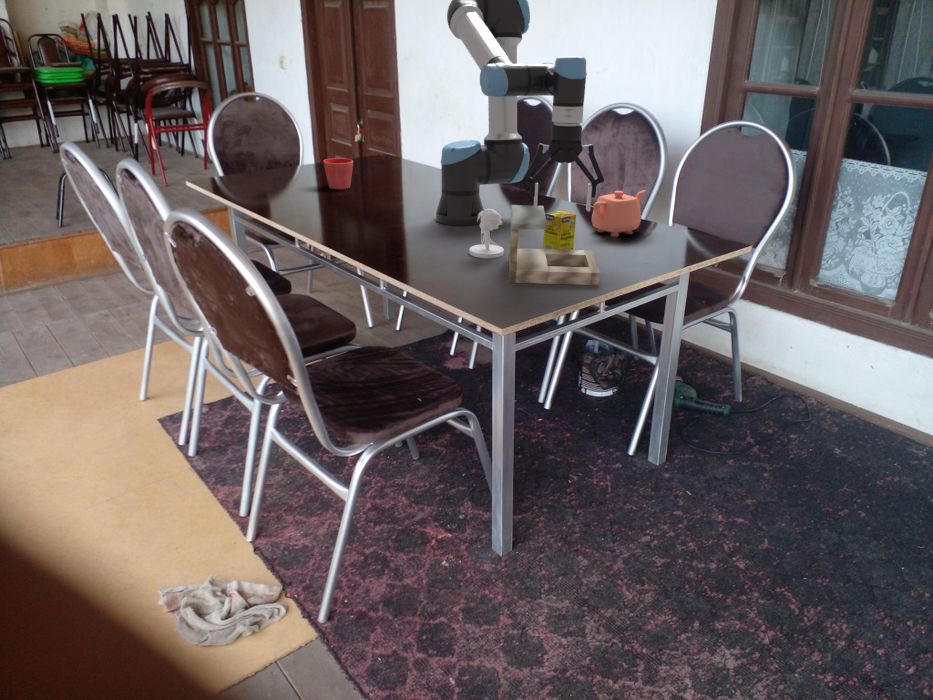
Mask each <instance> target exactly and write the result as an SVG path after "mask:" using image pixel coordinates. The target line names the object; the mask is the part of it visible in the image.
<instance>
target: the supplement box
mask: <svg viewBox="0 0 933 700" xmlns="http://www.w3.org/2000/svg"><path fill="white" fill-rule="evenodd" d="M545 216H546V221H547V230H543V240H542V241H543V243H542V244H543V245H542V249H557V250H574V245H575V235H576V234H575V233H576V232H575V231H576V224H577V223H576V221H577V214H576V213H572V212H569V211H566V210H565V211H564V210H562V209H561V210H557V211H552V212H545Z"/></svg>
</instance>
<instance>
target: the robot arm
mask: <svg viewBox="0 0 933 700" xmlns="http://www.w3.org/2000/svg"><path fill="white" fill-rule="evenodd" d="M530 10H531V9H530V5H529V1H528V0H451V2H450V3H449V5H448V8H447V11H446V12H447V13H446V21H447V25H448V28H449V30H450V31H451V33H452V35H453V36H454V37H455V38H456V39H458V40H460V41H462V43H463V45H464V46H465V48H466V50H467V51H468V53H469V54H470V55H471V57H472V59H473V61H474V62H475V63H476V65H477V67H478V68H479V70H480V73H479V85H480V90H481V93H482V94H483V95H484V96H486V97H488V100H487V101H488V104H487V105H488V106H487V107H488V109H487V110H488V133H487V135H486V136H485V137H483V144H481V142H480V141H479V140H475V139H470V140H468V139H465V140H459V141H454V142H453V141H452V142H449V143H448V144H446V145H444V146H443V147H442V149H441V157H440V158H441V159H440V165H441V166H440V167H441V195H440V198H439V201H438V205H437V208H436V212H435V221H436V222H438V223H439V224H443V225H449V226H458V227H459V226H462V227H463V226H464V227H465V226H466V227H467V226H474V225H480V223H481V216H480V218H479V219H478V214H479V213H480V212H481V211H484V210H485V209H484V206H483V203H482V200H481V199H482V198H481V195H480V187H481V186H482V185H484V186H485V185H497V184H498V185H499V184H507V185H509V184H513V183H519V182H521V181H522V180H523V181H524V182H527V183H529V185H530V186H529V187H530V188H529V194H530V195H529V196H530V197H533V206H538V197H539V196H538V195H539V194H538V193H539V182H538V181H539V179H541V177H542V176H543V175H544V174H545V173H546V172H547V171H548V169H550V167H552V165H553V164H555V162H556V163H558V164H563V163H567V164H572V163H573V162H575V163H576V164H577V166H578V167H579V168H580V170H581V171H582V173H583V174H584V175H585V176H586V178H587V179H588V180H589V182H590V183H587V189H586V190H587V193H586V205H585V207H586V208H585V209H586V212H591V205H592V204H591V203H592V198H596V195H597V185H598V184H602V183H604V182H605V178H604V176H603V173H602V171H601V168H600V166H599V163H598V161H597V159H596V156H595V151H594V150H595V148H594V145H593V144H592V143H589V144H585V145H582V136H583V135H582V133H583V126H582V125H581V124H582V123H583V122H584V121H583V120H584V105H585V104H584V103H585V95H586V94H585V93H586V81H587V75H588V74H587V73H588V72H587V59H586V58H585V57H584V56H581V55H580V56H574V55H562V56H561V55H559V56H557V57H556V59H555V61H554V63H552V62H542V63H518V45H519V44H520V43H521V42H522V41H523V35H524V34H525V33H527V32H528V30H529V28H530V25H529V24H530V23H531V22H530V21H531V12H530ZM536 96H537V97H540V96H542V97H543V96H549V97H552V111H551V112H552V114H551V122H552V123H553V124H552V125H551V129H550V130H551V132H550V133H551V134H550V142H549V144H543V143H541V142H539V143H538V145H537V149H536V150H537V151H536V153H535V155H534V157H533V159H532V160H531V162H530V152H529V147H528V145H527V144H526V143H524V142H523V137H522V136H521V135H520V134H519V132H518V97H536ZM546 151H549V154H551V155H550V156H549V158H548V159H547V160H546V161H545V163H544V164H543V165H542V166H541V167H540V168H539V169H538V170H537V171H536V172H535V174H534V175H532V174H533V173H534V171H535V168H536V167H537V165H538V163H539V161H540V159H541V158H542V156H543V154H545V153H546ZM583 151H584V153H585V154H586V155H588V158H589V160H590V163H591V165H592V168H593V170H594V173H595V175H596V178H595V177H594V176H593V175H592V173H591V172H590V171H589V169H588V168H587V166H586V165H585V164H584V163H583V161H582V160H581V159H580V157H579V156H580V154H581V153H582V152H583ZM477 219H478V222H477Z"/></svg>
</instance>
